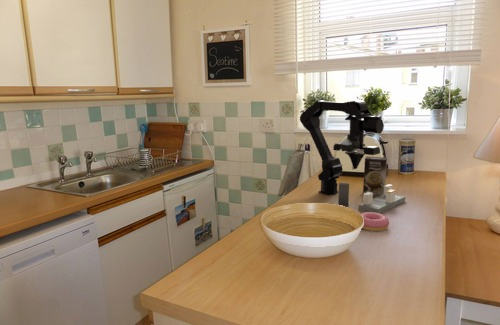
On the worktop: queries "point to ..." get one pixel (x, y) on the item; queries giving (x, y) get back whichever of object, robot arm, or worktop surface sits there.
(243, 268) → the worktop surface
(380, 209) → the breaker panel
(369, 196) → the paddle left
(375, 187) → the coffee box
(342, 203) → the dark grey tall block
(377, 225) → the doughnut
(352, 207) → the worktop surface
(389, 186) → the paddle right
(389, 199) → the block
